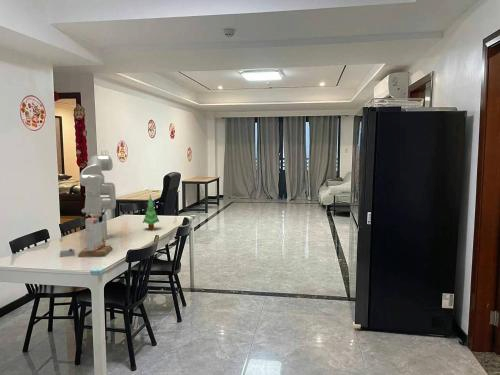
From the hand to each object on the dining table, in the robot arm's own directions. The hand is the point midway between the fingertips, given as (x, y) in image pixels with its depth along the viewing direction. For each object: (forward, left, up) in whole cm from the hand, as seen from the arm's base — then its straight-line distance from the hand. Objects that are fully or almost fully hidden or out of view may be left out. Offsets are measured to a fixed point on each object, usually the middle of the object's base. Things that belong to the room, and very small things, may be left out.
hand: (94, 222), depth 229 cm
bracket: (+3, -16, -21) cm, 27 cm away
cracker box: (0, 0, -18) cm, 18 cm away
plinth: (0, 0, -21) cm, 21 cm away
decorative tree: (-71, +21, -21) cm, 77 cm away
